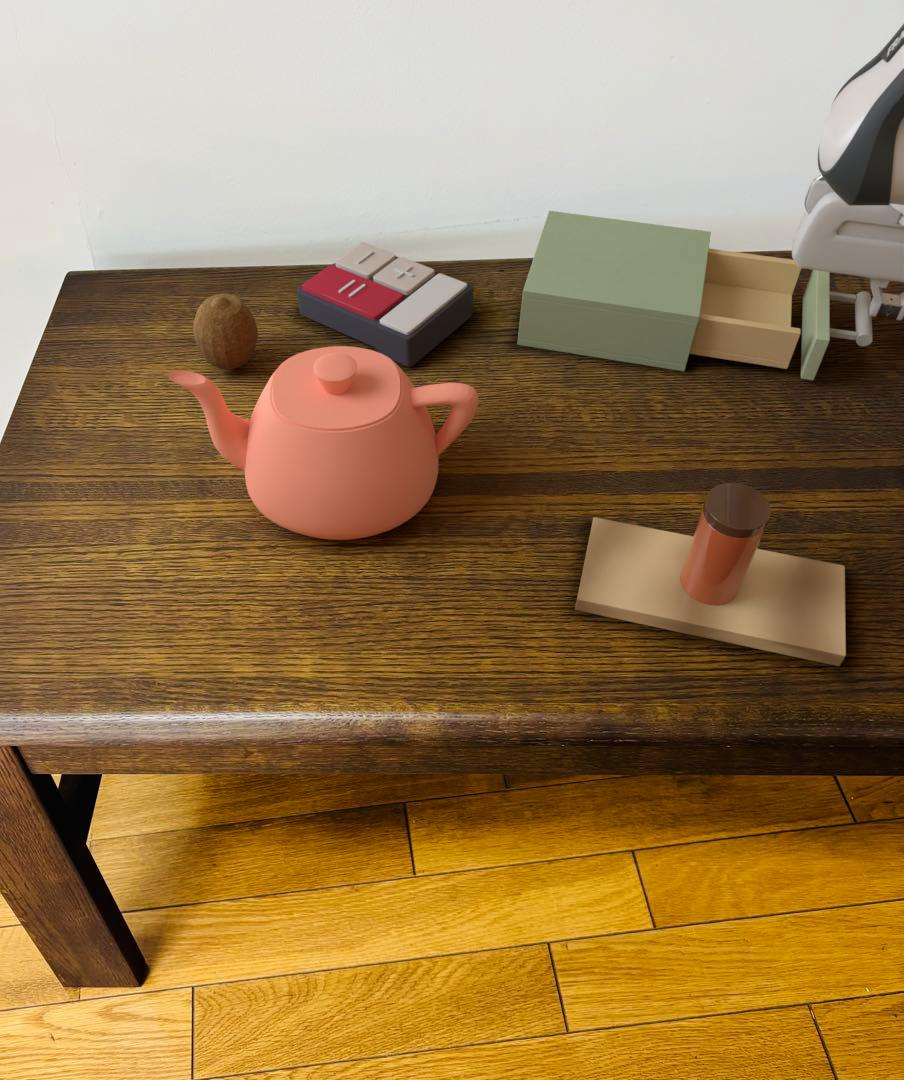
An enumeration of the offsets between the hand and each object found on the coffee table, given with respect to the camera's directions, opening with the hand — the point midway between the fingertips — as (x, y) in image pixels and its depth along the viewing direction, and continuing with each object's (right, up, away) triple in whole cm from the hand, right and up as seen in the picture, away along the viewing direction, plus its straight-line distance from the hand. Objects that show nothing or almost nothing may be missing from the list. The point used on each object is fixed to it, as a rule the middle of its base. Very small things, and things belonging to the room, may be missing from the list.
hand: (884, 314), depth 95 cm
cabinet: (-24, +2, +9) cm, 26 cm away
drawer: (-10, 0, +5) cm, 12 cm away
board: (-22, -26, -15) cm, 37 cm away
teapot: (-53, -16, -6) cm, 55 cm away
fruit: (-63, -4, +6) cm, 63 cm away
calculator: (-48, +2, +10) cm, 49 cm away
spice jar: (-22, -25, -16) cm, 37 cm away
